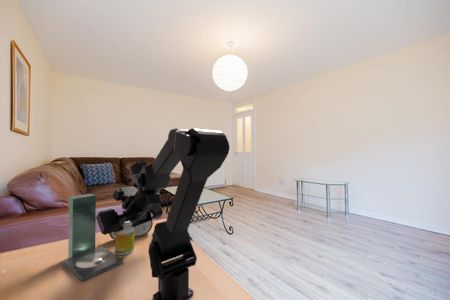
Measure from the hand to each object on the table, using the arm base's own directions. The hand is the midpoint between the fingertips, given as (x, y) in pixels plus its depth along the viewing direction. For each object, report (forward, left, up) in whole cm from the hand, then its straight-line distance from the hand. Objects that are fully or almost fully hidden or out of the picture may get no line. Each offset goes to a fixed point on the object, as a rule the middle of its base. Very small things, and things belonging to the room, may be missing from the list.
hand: (122, 229), depth 64 cm
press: (+4, +9, -7) cm, 12 cm away
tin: (+7, -7, -7) cm, 12 cm away
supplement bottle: (-1, 0, -7) cm, 7 cm away
